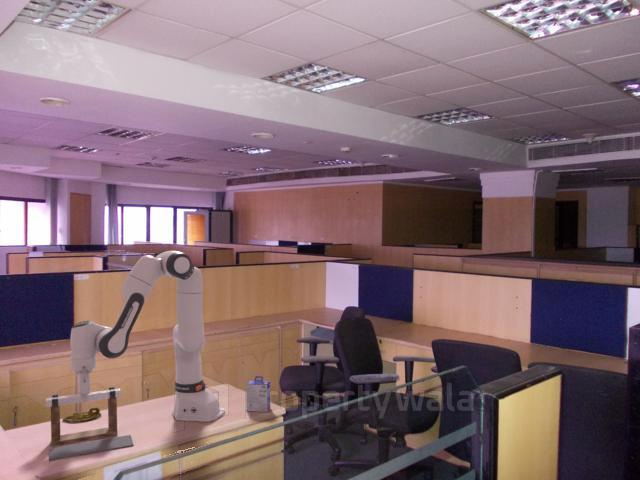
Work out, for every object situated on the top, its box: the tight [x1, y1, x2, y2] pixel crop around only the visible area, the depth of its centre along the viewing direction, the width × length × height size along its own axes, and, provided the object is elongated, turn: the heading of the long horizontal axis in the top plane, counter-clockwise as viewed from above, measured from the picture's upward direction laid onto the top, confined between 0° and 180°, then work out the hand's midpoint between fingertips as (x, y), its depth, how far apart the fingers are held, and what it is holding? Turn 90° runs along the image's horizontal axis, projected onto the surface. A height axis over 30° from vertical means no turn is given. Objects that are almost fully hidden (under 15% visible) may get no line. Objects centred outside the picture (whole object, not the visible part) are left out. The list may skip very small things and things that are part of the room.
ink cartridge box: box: [245, 375, 271, 413], centre depth 229 cm, size 10×6×14 cm, turn 81°
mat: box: [48, 434, 134, 462], centre depth 191 cm, size 28×10×1 cm, turn 116°
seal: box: [62, 407, 102, 424], centre depth 220 cm, size 9×5×15 cm
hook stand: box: [50, 386, 119, 448], centre depth 200 cm, size 23×6×18 cm, turn 116°
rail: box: [45, 387, 122, 408], centre depth 200 cm, size 26×3×2 cm, turn 116°
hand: (84, 399), depth 200 cm, fingers closed on rail, 3 cm apart
